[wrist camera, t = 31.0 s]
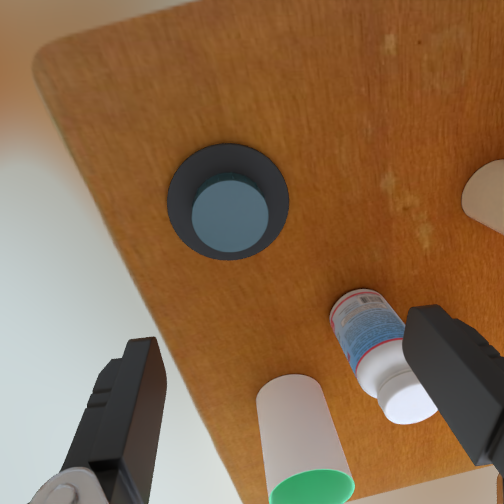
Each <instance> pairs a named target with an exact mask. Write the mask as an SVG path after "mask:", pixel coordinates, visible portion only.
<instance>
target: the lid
mask: <svg viewBox="0 0 504 504" xmlns="http://www.w3.org/2000/svg"><path fill="white" fill-rule="evenodd" d="M265 200H266V199H265V196H264V194H263V192H261V190H260V189H259V187H258V186H257V184H256V182H253V181H252V180H251V179H249V178H248V177H246V176H245V175H244V176H243V175H241V174H237V173H232V172H231V173H221V174H219V173H218V175H215V176H213V177H211V178H209V179H208V180H207V179H206V181H205V182H204V183H203V184H202V185H201V186H200V188H199V189H197V193H196V195H195V198H194V200H193V202H192V219H191V220H192V224H193V227H194V230H195V232H196V234H197V236H198V237H199V238H200V239H201V240H202V242H204V243H205V244H206V245H208V246H209V247H211V248H213V249H215V250H218V251H222V252H238V251H242V250H244V249H247V248H249V247H251V246H252V245H254V244H255V243H256V242H257V241H258V240H259V239H260V238H261V237H262V235H263V234H264V232H265V230H266V228H267V225H268V220H269V210H268V207H267V204H266V201H265Z"/></svg>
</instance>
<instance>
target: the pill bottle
mask: <svg viewBox="0 0 504 504" xmlns="http://www.w3.org/2000/svg"><path fill="white" fill-rule="evenodd" d="M330 324H331V327H332V329H333V331H334V333H335V335H336V337H337V339H338V341H339V343H340V345H341V347H342V349H343V351H344V353H345V356H346V358H347V360H348V362H349V364H350V366H351V368H352V370H353V372H354V374H355V376H356V378H357V380H358V382H359V384H360V386H361V387H362V389H363V390H364V391H365V392H366V393H368V394H369V395H370V396H372V397H374V398H377V399H378V403H379V405H380V407H381V408H382V410H383V412H384V414H385V416H386V417H387V418H388V419H389V420H390V421H392V422H394V423H397V424H412V423H416V422H419V421H422V420H424V419H426V418H428V417H430V416H431V415H433V414H434V413H435V412H436V411H437V410H438V409H437V407H436V406H435V404H434V403H433V401H432V400H431V398H430V397H429V395H428V394H427V392H426V391H425V389H424V388H423V386H422V385H421V383H420V382H419V380H418V379H417V377H416V375H415V374H414V372H413V371H412V369H411V368H410V366H409V365H408V363H407V362H406V360H405V357H404V354H403V350H402V340H403V336H404V331H405V326H406V325H405V324H404V323H403V321H402V320H401V319H400V318H399V316H398V315H397V314H396V312H395V311H394V310H393V309H392V307H391V306H390V305H389V304H388V302H387V301H386V300H385V299H384V297H383V296H382V295H381V294H379V293H378V292H376V291H373V290H369V289H358V290H354V291H351V292H349V293H347V294H345V295H344V296H342V297H341V298H340V299H339V300H338V301H337V302H336V304H335V305H334V306H333V308H332V310H331V313H330Z"/></svg>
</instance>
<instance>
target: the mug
mask: <svg viewBox="0 0 504 504" xmlns="http://www.w3.org/2000/svg"><path fill="white" fill-rule="evenodd" d="M256 405H257V412H258V420H259V428H260V435H261V443H262V451H263V459H264V466H265V474H266V482H267V489H268V497H269V504H343V503H345V502H346V501H347V500H348V499H349V498H350V497H351V495H352V494H353V492H354V488H355V484H354V481H353V478H352V475H351V472H350V469H349V466H348V464H347V461H346V458H345V455H344V452H343V449H342V446H341V443H340V441H339V438H338V435H337V432H336V429H335V426H334V423H333V420H332V417H331V415H330V412H329V409H328V406H327V403H326V400H325V397H324V394H323V392H322V389H321V386H320V385H319V383H318V382H317V381H316V380H314V379H313V378H311V377H309V376H305V375H300V374H290V375H284V376H281V377H278V378H275V379H273V380H271V381H270V382H268V383H267V384H265V385H264V386H263V387H262V388H261V390H260V391H259V393H258V395H257V398H256Z"/></svg>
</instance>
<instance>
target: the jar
mask: <svg viewBox="0 0 504 504" xmlns="http://www.w3.org/2000/svg"><path fill="white" fill-rule="evenodd" d="M462 207H463V210H464V212H465V213H466V215H467V216H469V217H470V218H472V219H474V220H476V221H477V222H479V223H481V224H483V225H485V226H487V227H489V228H491V229H492V230H494V231H496V232H498V233H500V234H502V235H504V159H501V160H496V161H493V162H490V163H488V164H486V165H484V166H483V167H481V168H480V169H479V170H478V171H476V172H475V173H474V174H473V176H472V177H471V178H470V179H469V181H468V182H467V184H466V186H465V188H464V190H463V194H462Z"/></svg>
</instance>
